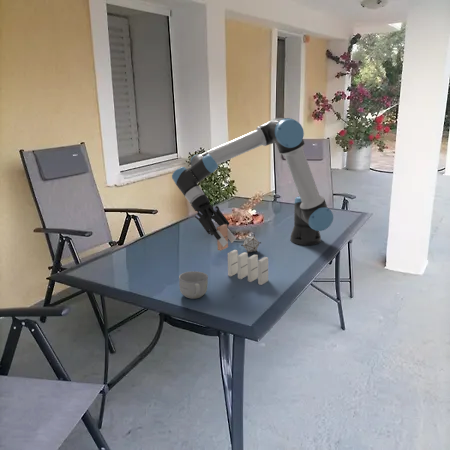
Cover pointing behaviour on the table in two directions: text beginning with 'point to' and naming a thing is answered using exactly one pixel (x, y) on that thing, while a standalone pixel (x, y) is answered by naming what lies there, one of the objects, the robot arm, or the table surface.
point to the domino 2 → (232, 263)
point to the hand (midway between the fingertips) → (229, 242)
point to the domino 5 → (262, 270)
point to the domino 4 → (252, 267)
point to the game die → (251, 244)
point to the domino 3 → (242, 265)
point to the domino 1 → (224, 232)
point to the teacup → (193, 284)
